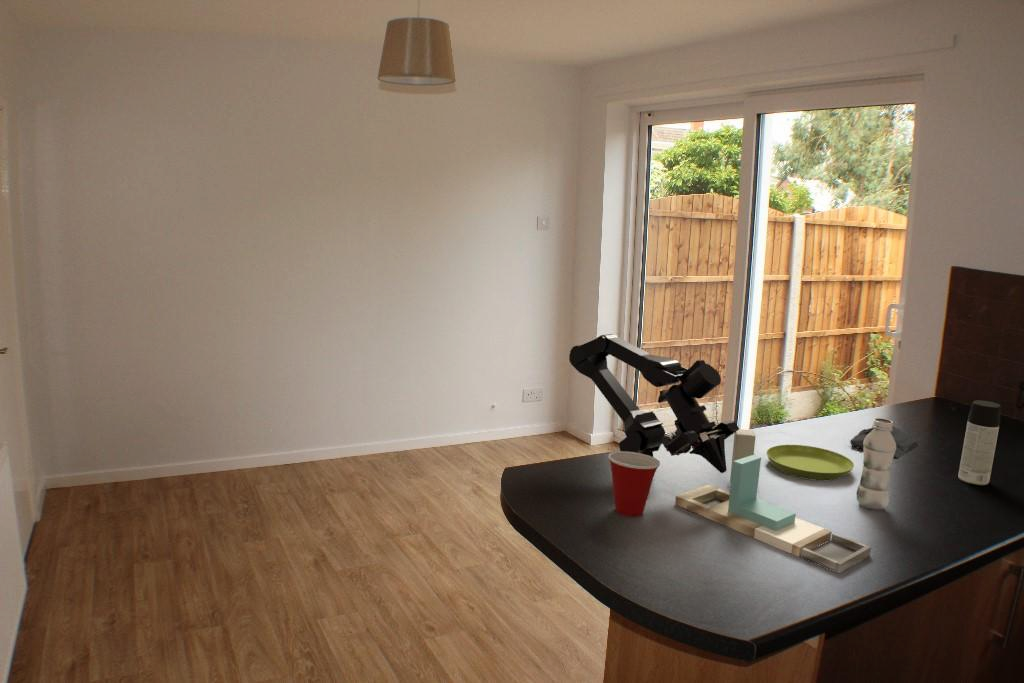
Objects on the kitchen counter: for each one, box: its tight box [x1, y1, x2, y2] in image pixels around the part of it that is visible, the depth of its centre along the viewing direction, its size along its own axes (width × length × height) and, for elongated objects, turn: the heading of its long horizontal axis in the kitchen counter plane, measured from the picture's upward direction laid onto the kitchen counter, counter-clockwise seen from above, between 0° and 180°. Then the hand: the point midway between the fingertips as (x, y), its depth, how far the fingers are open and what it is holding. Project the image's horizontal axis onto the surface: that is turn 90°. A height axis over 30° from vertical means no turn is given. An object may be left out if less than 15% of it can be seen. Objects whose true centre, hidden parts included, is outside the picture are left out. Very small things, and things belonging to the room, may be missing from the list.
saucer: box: [765, 444, 855, 481], centre depth 187 cm, size 21×21×3 cm
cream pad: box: [753, 517, 825, 554], centre depth 147 cm, size 8×12×2 cm, turn 129°
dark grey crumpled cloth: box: [849, 425, 919, 460], centre depth 210 cm, size 15×22×5 cm
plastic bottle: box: [856, 417, 896, 511], centre depth 163 cm, size 6×7×20 cm
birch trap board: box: [674, 484, 872, 574], centre depth 151 cm, size 37×12×2 cm, turn 40°
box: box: [729, 428, 756, 482], centre depth 173 cm, size 5×4×13 cm
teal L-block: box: [728, 454, 797, 531], centre depth 150 cm, size 11×7×11 cm, turn 40°
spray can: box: [957, 399, 1002, 486], centre depth 182 cm, size 7×7×20 cm
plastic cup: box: [608, 451, 661, 518], centre depth 155 cm, size 11×11×12 cm
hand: (724, 472), depth 157 cm, fingers closed
